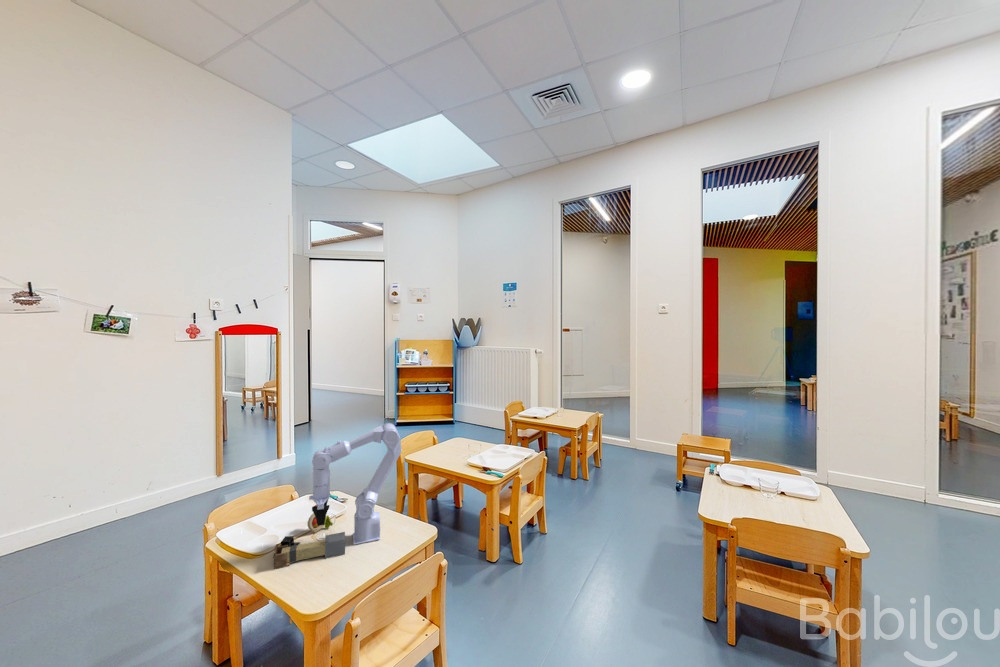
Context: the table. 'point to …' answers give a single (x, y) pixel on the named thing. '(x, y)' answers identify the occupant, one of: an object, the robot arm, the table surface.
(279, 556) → the socket
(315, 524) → the bird rattle
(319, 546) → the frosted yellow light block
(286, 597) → the table surface
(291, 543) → the black recessed box
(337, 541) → the sleeve
